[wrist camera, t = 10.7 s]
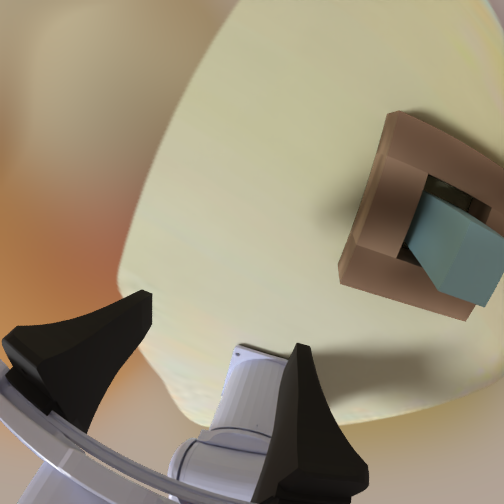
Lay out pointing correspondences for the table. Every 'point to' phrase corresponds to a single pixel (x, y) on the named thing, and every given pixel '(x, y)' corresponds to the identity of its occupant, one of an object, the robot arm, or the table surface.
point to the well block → (404, 206)
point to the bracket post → (456, 250)
